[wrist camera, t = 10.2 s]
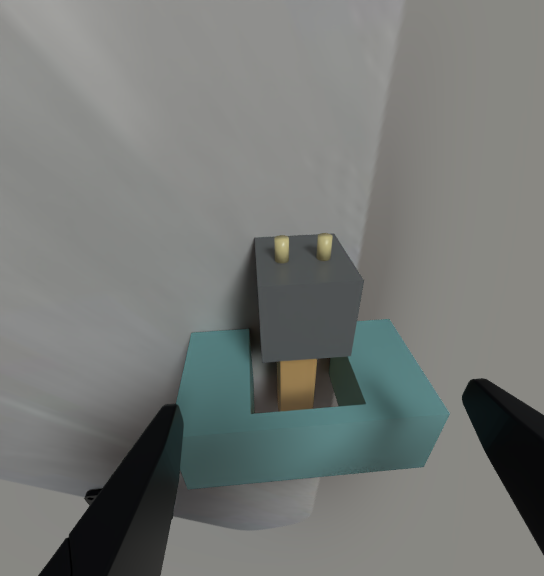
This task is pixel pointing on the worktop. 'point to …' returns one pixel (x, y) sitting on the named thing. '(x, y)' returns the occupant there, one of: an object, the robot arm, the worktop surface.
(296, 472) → the housing
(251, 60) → the worktop surface
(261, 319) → the plug
